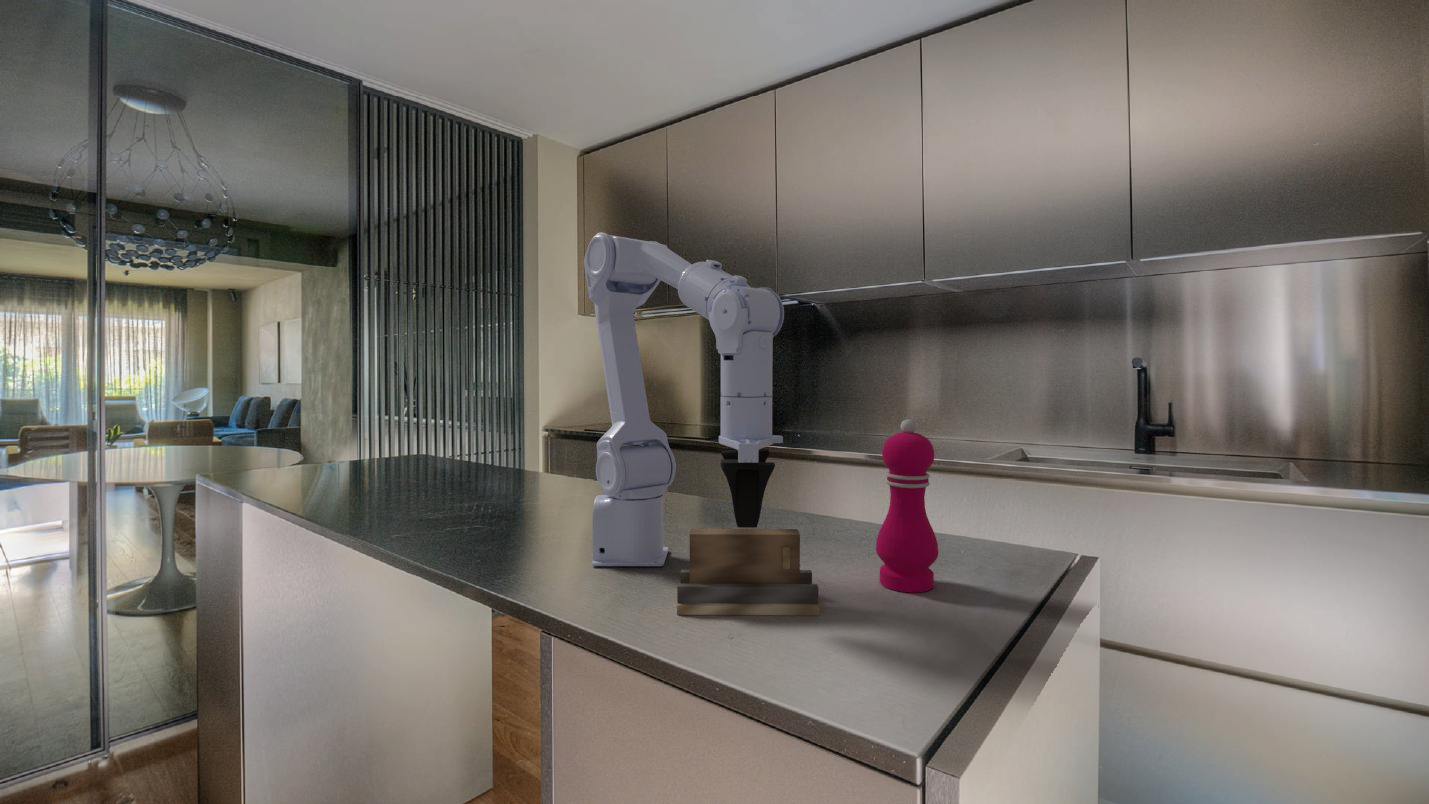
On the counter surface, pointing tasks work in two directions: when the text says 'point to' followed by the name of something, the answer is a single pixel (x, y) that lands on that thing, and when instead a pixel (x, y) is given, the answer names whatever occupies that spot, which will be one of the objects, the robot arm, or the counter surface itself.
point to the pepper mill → (907, 514)
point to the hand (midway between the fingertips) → (746, 518)
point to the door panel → (744, 556)
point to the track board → (747, 598)
